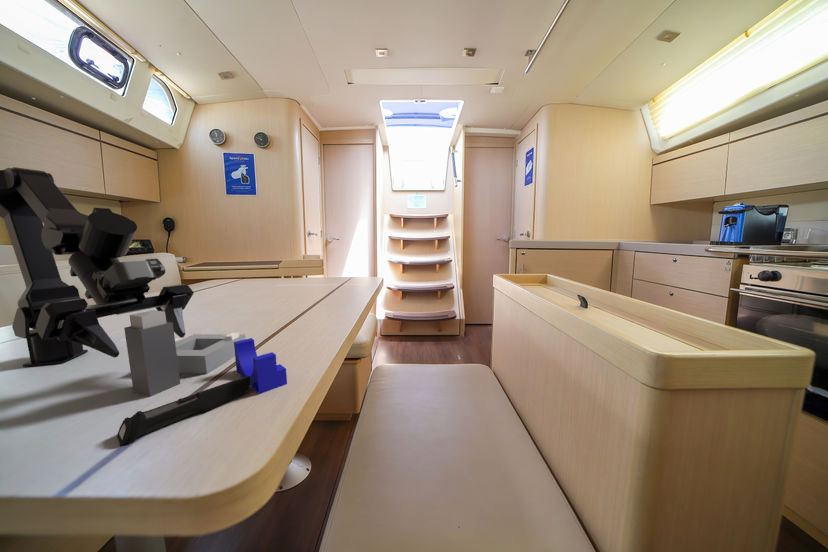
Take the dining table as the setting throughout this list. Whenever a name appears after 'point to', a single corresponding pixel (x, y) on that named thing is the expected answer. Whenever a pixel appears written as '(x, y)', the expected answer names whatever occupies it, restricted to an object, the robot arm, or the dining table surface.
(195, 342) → the socket
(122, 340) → the dining table surface
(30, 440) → the dining table surface
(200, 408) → the electric trimmer
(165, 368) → the plug
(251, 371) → the cable clip
